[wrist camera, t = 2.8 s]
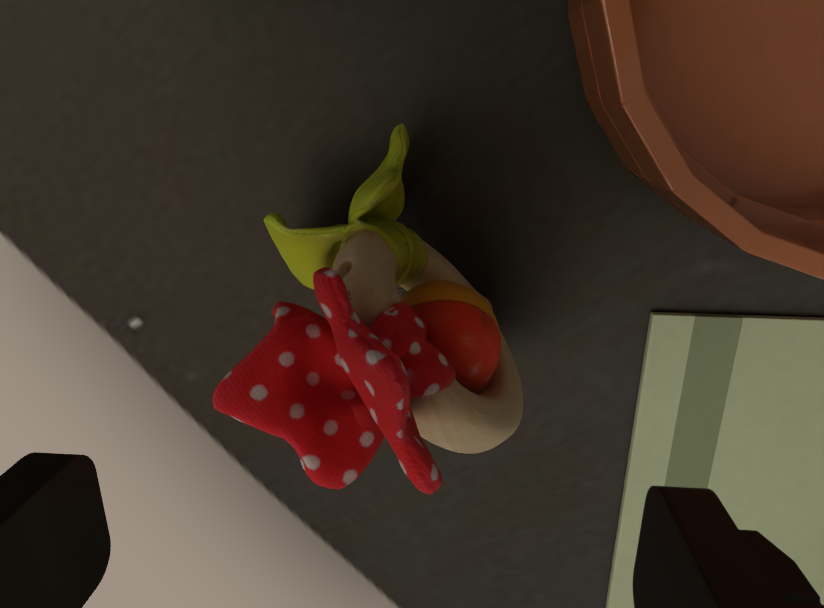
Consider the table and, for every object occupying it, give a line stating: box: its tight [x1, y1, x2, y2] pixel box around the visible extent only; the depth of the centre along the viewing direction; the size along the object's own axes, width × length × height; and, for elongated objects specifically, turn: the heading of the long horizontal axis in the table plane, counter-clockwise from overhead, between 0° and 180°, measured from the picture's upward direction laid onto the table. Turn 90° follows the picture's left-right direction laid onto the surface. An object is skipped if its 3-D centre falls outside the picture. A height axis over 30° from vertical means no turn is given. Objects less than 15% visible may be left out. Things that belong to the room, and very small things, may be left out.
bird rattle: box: [212, 124, 523, 494], centre depth 16 cm, size 6×11×9 cm
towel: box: [605, 312, 824, 608], centre depth 23 cm, size 15×14×1 cm
